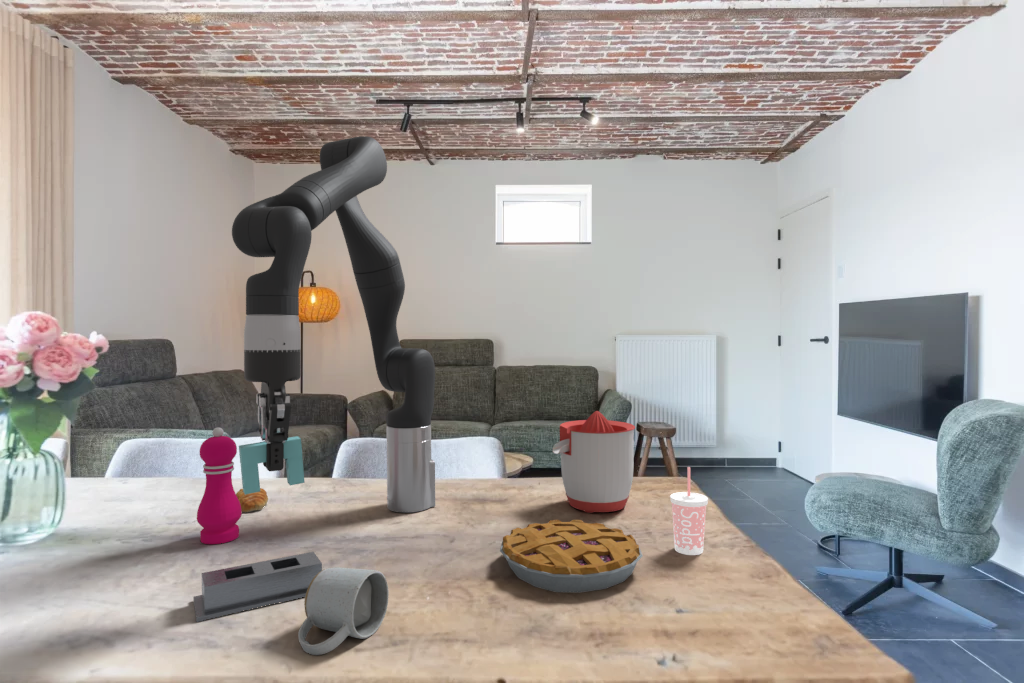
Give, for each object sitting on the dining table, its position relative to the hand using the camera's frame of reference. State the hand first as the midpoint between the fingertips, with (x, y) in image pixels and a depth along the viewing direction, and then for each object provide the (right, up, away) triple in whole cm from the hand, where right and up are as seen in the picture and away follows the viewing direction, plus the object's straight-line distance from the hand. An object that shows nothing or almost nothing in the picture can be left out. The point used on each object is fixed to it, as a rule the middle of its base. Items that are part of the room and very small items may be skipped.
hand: (273, 467), depth 86 cm
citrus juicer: (+51, -17, +40) cm, 67 cm away
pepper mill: (-18, -17, +22) cm, 33 cm away
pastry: (-21, -17, +42) cm, 50 cm away
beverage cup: (+64, -17, +15) cm, 68 cm away
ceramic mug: (+13, -18, -12) cm, 26 cm away
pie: (+43, -18, +8) cm, 48 cm away
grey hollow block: (-1, -18, -2) cm, 18 cm away
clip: (0, -3, 0) cm, 3 cm away
